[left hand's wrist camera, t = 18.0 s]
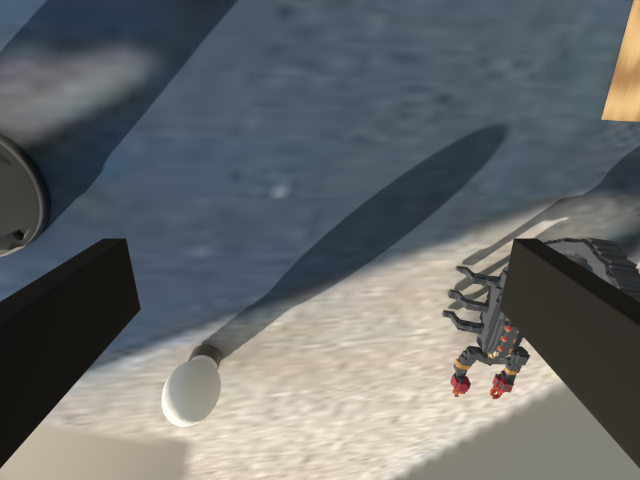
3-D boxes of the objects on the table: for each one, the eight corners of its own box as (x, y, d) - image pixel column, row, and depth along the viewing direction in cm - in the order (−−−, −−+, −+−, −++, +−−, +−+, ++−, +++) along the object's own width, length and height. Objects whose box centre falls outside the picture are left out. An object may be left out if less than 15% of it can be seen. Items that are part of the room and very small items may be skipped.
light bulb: (175, 359, 51) (139, 423, 41) (199, 327, 49) (167, 386, 39) (215, 382, 52) (190, 449, 42) (240, 352, 50) (220, 415, 40)
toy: (583, 213, 43) (756, 283, 26) (511, 384, 53) (604, 519, 35) (477, 198, 43) (583, 260, 25) (423, 374, 52) (474, 507, 35)
